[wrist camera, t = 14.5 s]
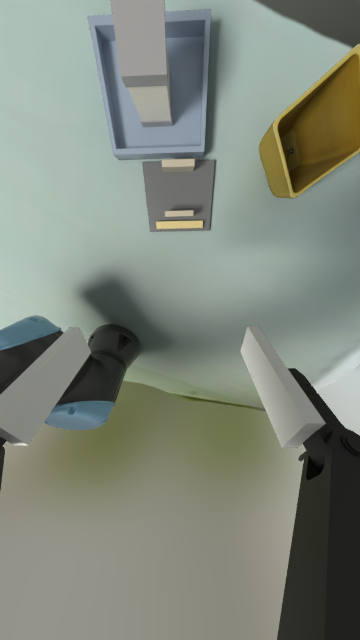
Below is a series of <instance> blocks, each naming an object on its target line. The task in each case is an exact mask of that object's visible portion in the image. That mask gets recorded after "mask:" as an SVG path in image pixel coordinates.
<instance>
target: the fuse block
mask: <svg viewBox="0 0 360 640" xmlns="http://www.w3.org/2000/svg"><path fill="white" fill-rule="evenodd" d="M142 163H143V172H144V181H145V190H146V199H147V208H148V217H149V226H150V232H161V231H206V230H209V229H210V216H211V203H212V190H213V177H214V164H215V160H202V161H195V159H172V160H162V162H142Z"/></svg>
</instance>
